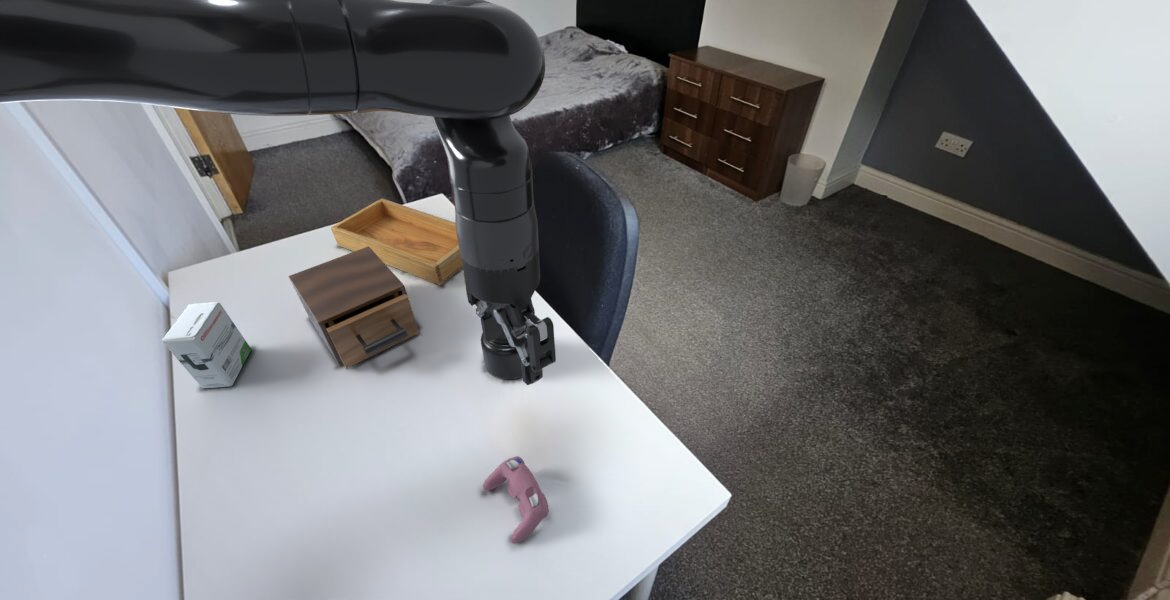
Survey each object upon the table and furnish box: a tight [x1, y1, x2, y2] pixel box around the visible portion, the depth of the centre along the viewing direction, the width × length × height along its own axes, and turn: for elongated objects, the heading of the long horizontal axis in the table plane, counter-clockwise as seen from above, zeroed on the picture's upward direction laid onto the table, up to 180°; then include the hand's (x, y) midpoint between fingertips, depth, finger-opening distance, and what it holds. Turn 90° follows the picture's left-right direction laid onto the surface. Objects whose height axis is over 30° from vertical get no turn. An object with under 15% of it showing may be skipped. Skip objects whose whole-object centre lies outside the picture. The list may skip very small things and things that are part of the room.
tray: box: [330, 198, 463, 286], centre depth 106 cm, size 31×15×6 cm, turn 62°
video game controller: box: [482, 455, 549, 544], centre depth 62 cm, size 10×5×7 cm, turn 34°
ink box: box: [161, 301, 252, 389], centre depth 77 cm, size 9×5×12 cm, turn 6°
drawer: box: [325, 292, 420, 369], centre depth 83 cm, size 19×13×9 cm
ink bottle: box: [480, 325, 529, 380], centre depth 79 cm, size 10×9×12 cm
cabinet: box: [288, 246, 409, 367], centre depth 86 cm, size 16×15×11 cm
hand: (512, 357), depth 56 cm, fingers open, 8 cm apart
